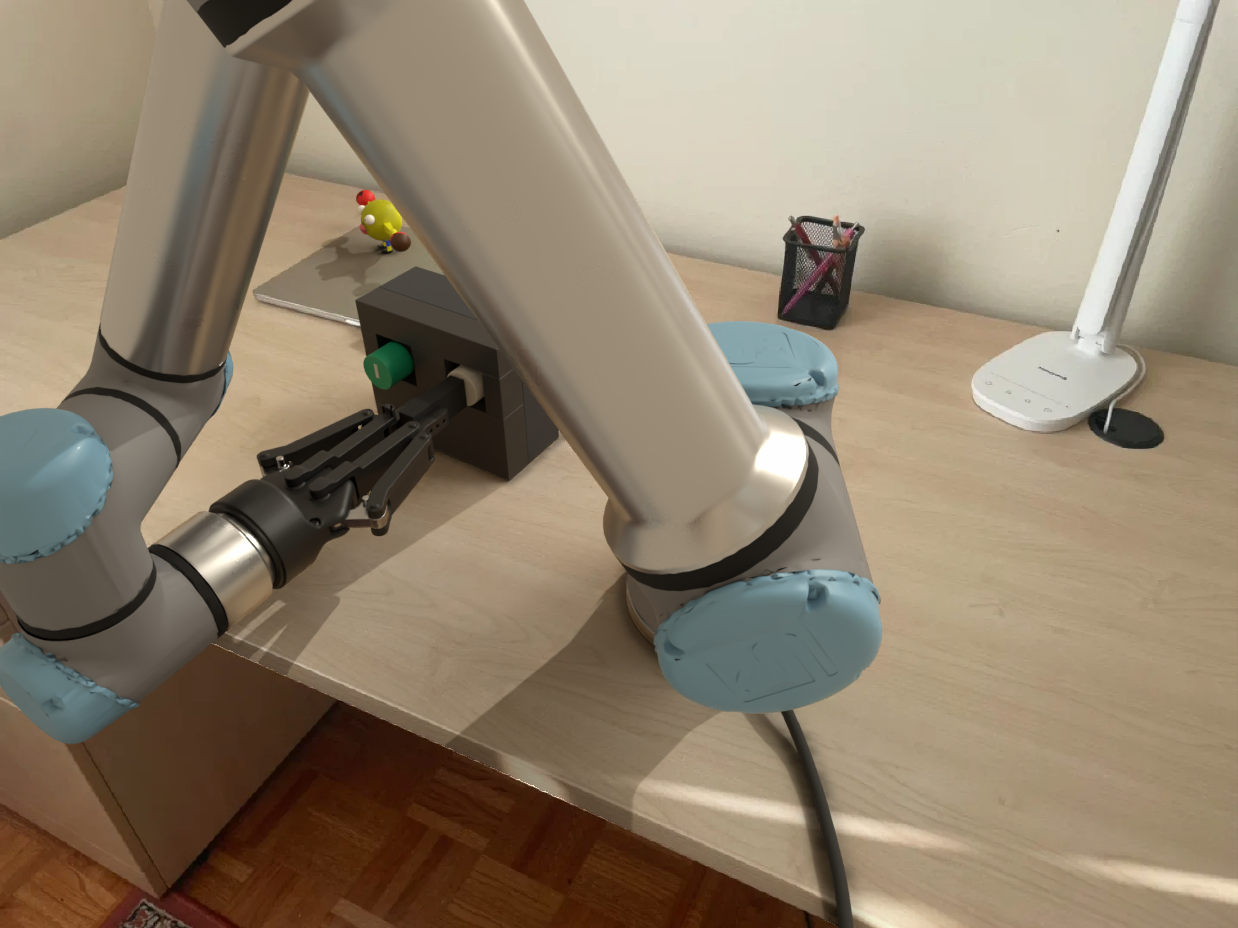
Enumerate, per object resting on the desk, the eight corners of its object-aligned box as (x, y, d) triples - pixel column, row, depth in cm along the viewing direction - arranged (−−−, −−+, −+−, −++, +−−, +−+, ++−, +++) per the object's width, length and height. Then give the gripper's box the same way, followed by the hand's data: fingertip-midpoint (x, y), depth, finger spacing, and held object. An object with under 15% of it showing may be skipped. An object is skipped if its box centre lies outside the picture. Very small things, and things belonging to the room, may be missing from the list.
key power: (393, 394, 81) (387, 362, 79) (366, 383, 83) (359, 351, 80) (416, 379, 83) (411, 347, 81) (388, 368, 85) (383, 337, 82)
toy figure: (347, 229, 126) (337, 181, 122) (386, 221, 128) (378, 174, 124) (385, 281, 114) (376, 231, 110) (427, 272, 116) (420, 222, 112)
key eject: (478, 411, 79) (474, 378, 77) (448, 399, 81) (443, 366, 79) (499, 395, 81) (495, 362, 79) (469, 384, 83) (465, 351, 80)
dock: (509, 481, 83) (496, 349, 74) (380, 426, 90) (354, 299, 81) (559, 437, 88) (552, 309, 80) (433, 388, 95) (415, 265, 86)
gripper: (194, 555, 68) (408, 403, 84) (318, 625, 63) (522, 449, 78) (163, 478, 63) (396, 332, 79) (294, 546, 58) (516, 375, 74)
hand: (458, 390), depth 79 cm, fingers closed
